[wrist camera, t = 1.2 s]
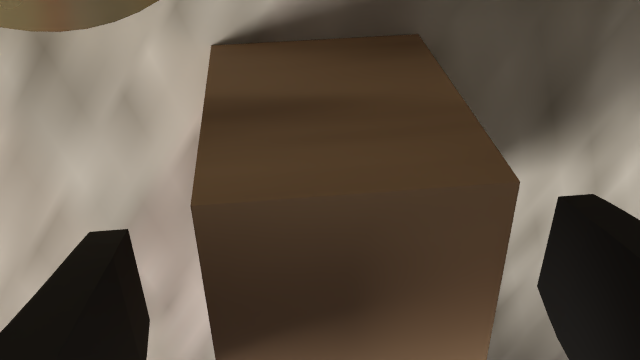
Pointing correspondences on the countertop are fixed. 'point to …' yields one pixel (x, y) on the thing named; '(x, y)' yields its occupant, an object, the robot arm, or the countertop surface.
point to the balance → (65, 13)
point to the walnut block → (347, 204)
